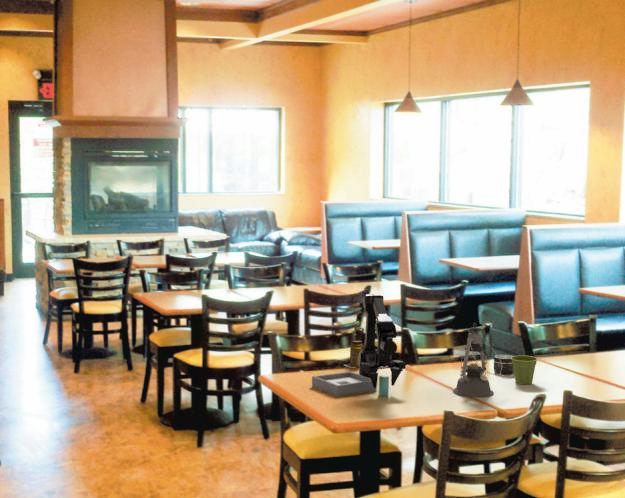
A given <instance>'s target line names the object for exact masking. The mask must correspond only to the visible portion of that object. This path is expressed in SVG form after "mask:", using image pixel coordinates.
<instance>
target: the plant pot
mask: <svg viewBox="0 0 625 498" xmlns="http://www.w3.org/2000/svg"><path fill="white" fill-rule="evenodd" d="M512 356H513V357H511V359H512V364H513V367H514V373H513V375H514V380H515V383H516V384H518V385H522V384H524V385H531V384H532V383H533V379H534V374H535V368H536V365H537V361H538V360H539V358H537V357H536V356H533V355H531V356H530V355H512Z"/></svg>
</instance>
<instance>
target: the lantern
mask: <svg viewBox="0 0 625 498" xmlns="http://www.w3.org/2000/svg"><path fill="white" fill-rule="evenodd" d="M474 325H475V326H474ZM476 325H477V323H476V322H475V323H473V327H470V328H468V331H470V332H468V337H467V338H466V346H465V348H464V350H465V354H464V356H463V355H462V356H461V358H463V359H461V361H460V362H461V363H460V365H461V367H460V368H461V369H460V375H459V376H460V378H458V379H457V382H456V387H455V388H454V389H452V393H453V394H455V395H456V396H457V395H458V396H460V397H466V398H487V397H491V396H493V395H494V393H495V392H494V391H493V389H491V385H490V381H489V378H488V377H487V376H486V375H487V374H490V375H493V376H498V377H499V376H500V375H502V374H501V372H500V374H496V373H495V374H494V373H491V372H489V371H487V367H486V366H487V364H488V358H487V356H486V355H485V354H484V350H485V349H484V346H483V345H484V344H485V345H487V346H488V347H489V348H492V346H491V345H489V344H488V343H486V341H485V339H484V335H482V333H480V331H481V328H479V327H477V326H476ZM483 342H484V344H483ZM492 350H493V352H494V353H495V354H496V355H497V356H498V355H499V354H497V353H496V351H495V350H494V349H492ZM470 352H472V353H470ZM474 352H475V353H474ZM477 353H478V354H479V355H480V359H479V358H477V357H475V354H477ZM472 355H473V356H472ZM470 356H472V357H473V358H474V361H475V363H473V362H469V358H470ZM485 358H486V359H485ZM498 358H499V357H498ZM476 359H477V360H478V359H479V361H480V362H481V365H480V364H479V363H478V362H477V360H476ZM499 359H500V358H499ZM462 360H463V362H462ZM500 361H501V360H500ZM462 363H463V364H462ZM468 363H469V365H468ZM501 365H502V362H501ZM501 369H502V368H501Z"/></svg>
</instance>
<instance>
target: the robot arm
mask: <svg viewBox="0 0 625 498" xmlns="http://www.w3.org/2000/svg"><path fill="white" fill-rule="evenodd" d="M361 300H362V306H363V309H364V310H365V312H366V315H365V316H366V317H365V318H366V319H365V330H364V332H365V334H364V343H362V347H361V351H360V353H359V356H358V359H357V361H358V365H359V366H360V367H359V372H358V374H359V375H362V376H365V377H368V378H371V381H372V384H373V387H374V388H376V386H377V385H378V379H379V372H378V371H379V370H383V369H384V370H385V369H390V373H391V374H390V376H391V378H390V379H391V381H390V382H391V383H390V384H391V386H392V387H393V386H395V384H396V383H397V380H398V378H399V377H400V374H401V373H402V372H403V371H404V370H405V369H406V368H407V367H406V366H407V364H406V362H405V361H403V360H399V359H396V360H395V359H394V360H392V356H394V354H395V353H397V350H398V345H397V343H396V342H395V341H394V339H397V334H398V333H397V326H396V324H395V323H394V322H393V319H392V317H390V316H389V315H388V313H387V310H386V307H385V303H384V302H385V301H384V295H383V294H380V293H379V294H378V293H376V294H375V293H374V294H370V293H369V294H367V293H366V294H364V296H363V297H362V299H361ZM376 338H377V347H376V346H375V344H376V343H375V342H376ZM361 362H362V363H361Z"/></svg>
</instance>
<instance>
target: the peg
mask: <svg viewBox="0 0 625 498" xmlns="http://www.w3.org/2000/svg"><path fill="white" fill-rule="evenodd" d="M389 382H390V377H389V375H378V396H379V397H385V398H386V397H389V389H390V387H389V384H390V383H389Z"/></svg>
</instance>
